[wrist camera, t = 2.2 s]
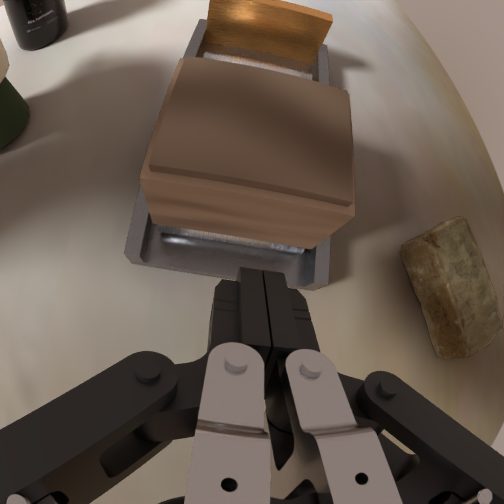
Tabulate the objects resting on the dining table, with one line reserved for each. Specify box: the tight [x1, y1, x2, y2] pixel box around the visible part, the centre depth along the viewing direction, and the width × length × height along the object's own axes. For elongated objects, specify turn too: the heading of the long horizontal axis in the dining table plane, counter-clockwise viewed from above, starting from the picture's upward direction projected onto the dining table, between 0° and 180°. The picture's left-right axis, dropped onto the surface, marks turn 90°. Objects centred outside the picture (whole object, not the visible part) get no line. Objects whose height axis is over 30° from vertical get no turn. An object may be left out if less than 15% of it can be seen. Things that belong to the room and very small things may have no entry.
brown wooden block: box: [139, 56, 355, 249], centre depth 18 cm, size 8×10×7 cm
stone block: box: [399, 216, 503, 359], centre depth 23 cm, size 6×12×5 cm, turn 22°
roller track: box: [124, 0, 333, 291], centre depth 22 cm, size 24×13×7 cm, turn 173°
